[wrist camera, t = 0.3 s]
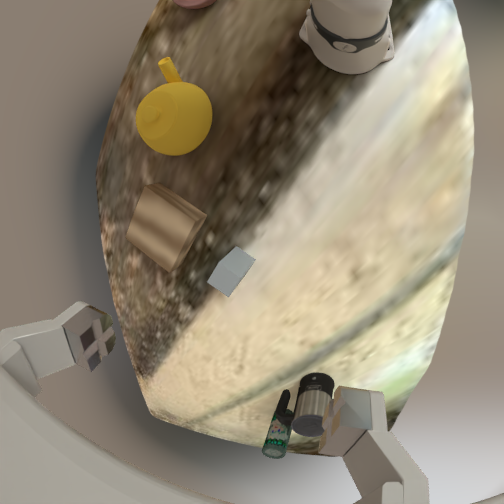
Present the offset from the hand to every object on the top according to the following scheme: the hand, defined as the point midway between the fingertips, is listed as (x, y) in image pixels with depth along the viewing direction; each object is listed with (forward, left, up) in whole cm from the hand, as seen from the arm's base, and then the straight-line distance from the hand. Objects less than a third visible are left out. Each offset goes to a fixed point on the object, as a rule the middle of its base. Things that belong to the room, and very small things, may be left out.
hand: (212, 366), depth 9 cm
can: (+64, +11, -48) cm, 80 cm away
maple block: (+15, -30, -48) cm, 58 cm away
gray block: (+19, -11, -48) cm, 53 cm away
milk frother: (+51, +16, -48) cm, 71 cm away
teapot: (-11, -29, -48) cm, 58 cm away
